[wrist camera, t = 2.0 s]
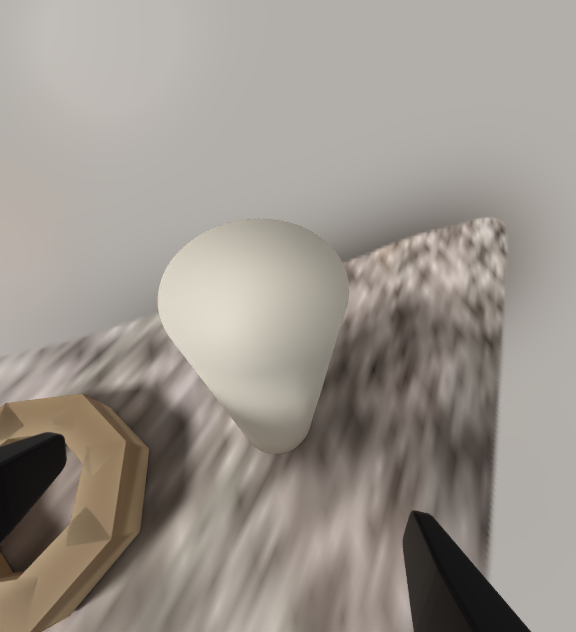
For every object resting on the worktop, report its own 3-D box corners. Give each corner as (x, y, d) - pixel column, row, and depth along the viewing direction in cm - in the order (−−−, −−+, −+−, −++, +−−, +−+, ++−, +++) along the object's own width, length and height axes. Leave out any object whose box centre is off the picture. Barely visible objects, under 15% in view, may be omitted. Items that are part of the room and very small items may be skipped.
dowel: (317, 448, 18) (371, 357, 6) (243, 458, 18) (146, 386, 6) (305, 378, 20) (328, 211, 8) (240, 386, 20) (166, 226, 8)
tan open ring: (132, 605, 14) (97, 629, 12) (-88, 642, 14) (-175, 676, 11) (154, 400, 19) (134, 386, 17) (-4, 420, 19) (-50, 409, 16)
